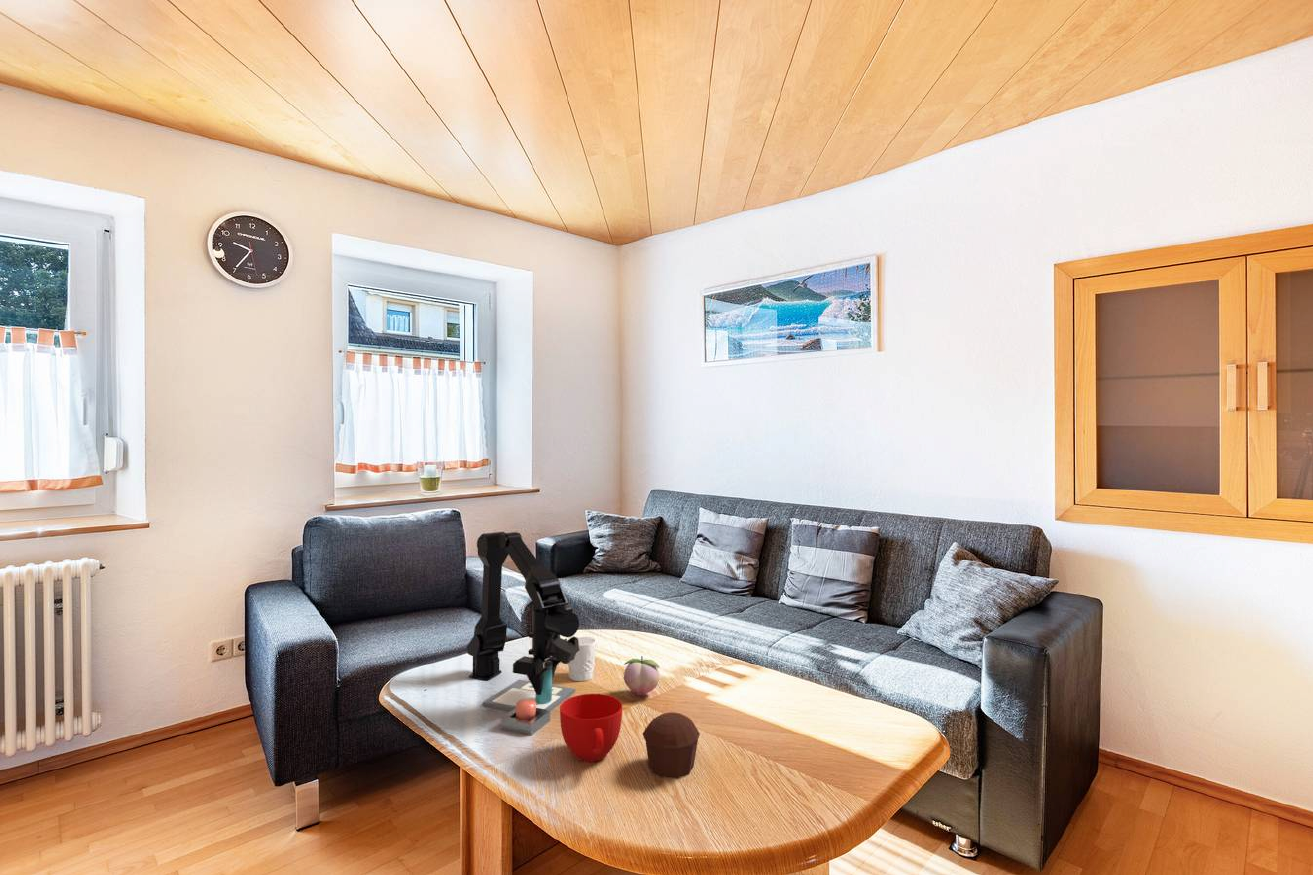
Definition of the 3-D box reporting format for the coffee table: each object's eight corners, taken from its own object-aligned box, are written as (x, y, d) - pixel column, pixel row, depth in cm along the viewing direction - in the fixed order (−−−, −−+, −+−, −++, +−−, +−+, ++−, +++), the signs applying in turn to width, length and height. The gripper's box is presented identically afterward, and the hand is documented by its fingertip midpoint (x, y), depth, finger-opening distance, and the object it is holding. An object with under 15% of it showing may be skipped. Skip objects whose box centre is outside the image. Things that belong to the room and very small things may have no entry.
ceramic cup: (566, 784, 120) (566, 731, 120) (556, 743, 136) (556, 696, 136) (632, 775, 123) (633, 724, 123) (615, 736, 140) (615, 690, 140)
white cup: (593, 682, 170) (594, 645, 170) (564, 682, 170) (565, 644, 171) (597, 671, 178) (597, 636, 178) (569, 671, 178) (569, 635, 178)
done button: (512, 720, 143) (512, 705, 143) (522, 713, 148) (523, 697, 148) (528, 724, 142) (529, 708, 142) (539, 716, 146) (539, 700, 146)
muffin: (667, 747, 135) (667, 700, 135) (710, 764, 128) (710, 714, 128) (630, 769, 126) (631, 718, 126) (674, 788, 119) (675, 735, 119)
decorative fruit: (661, 689, 166) (661, 651, 166) (658, 702, 158) (658, 662, 158) (625, 687, 167) (626, 649, 167) (621, 700, 159) (621, 660, 159)
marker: (531, 701, 154) (532, 664, 155) (540, 695, 158) (541, 659, 158) (546, 704, 153) (546, 666, 153) (555, 697, 157) (555, 661, 157)
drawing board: (482, 705, 155) (482, 700, 155) (518, 682, 170) (519, 678, 170) (542, 716, 149) (542, 712, 149) (575, 692, 164) (575, 687, 164)
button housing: (500, 729, 142) (500, 718, 142) (520, 714, 150) (520, 704, 150) (531, 735, 140) (531, 724, 140) (550, 720, 147) (550, 710, 147)
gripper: (553, 643, 144) (552, 711, 144) (590, 621, 162) (589, 682, 162) (511, 637, 148) (511, 704, 148) (552, 616, 166) (551, 676, 166)
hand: (543, 691), depth 156 cm, fingers closed on marker, 4 cm apart
